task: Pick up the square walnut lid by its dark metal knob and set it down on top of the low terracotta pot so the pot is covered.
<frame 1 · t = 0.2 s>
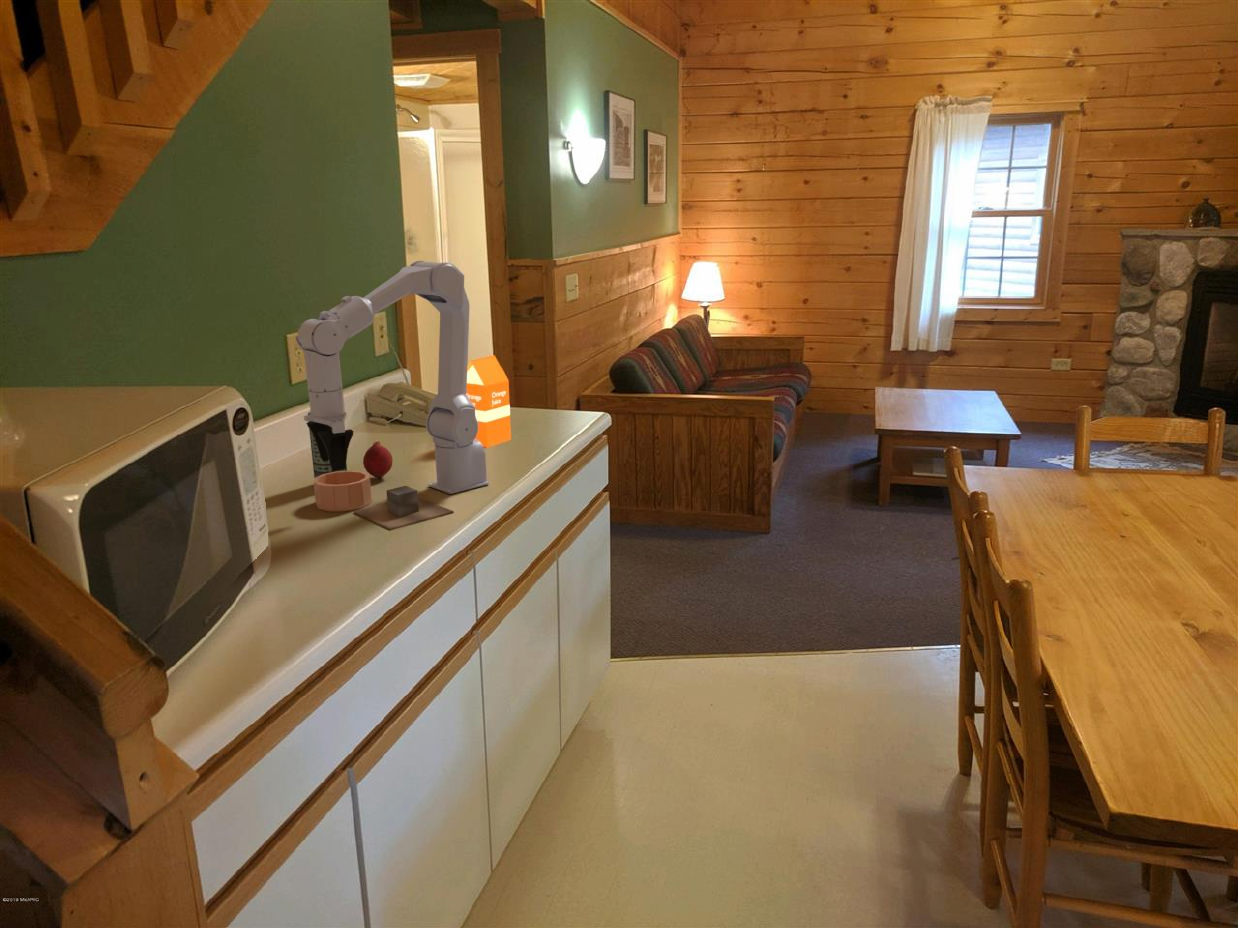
hand: (333, 464, 163), 10 cm above the table, tool pointing down, fingers open, 7 cm apart
onion: (379, 479, 190), on the table
pot: (344, 503, 174), on the table
orange juice: (487, 442, 219), on the table
can: (331, 485, 186), on the table
lid: (403, 516, 169), on the table
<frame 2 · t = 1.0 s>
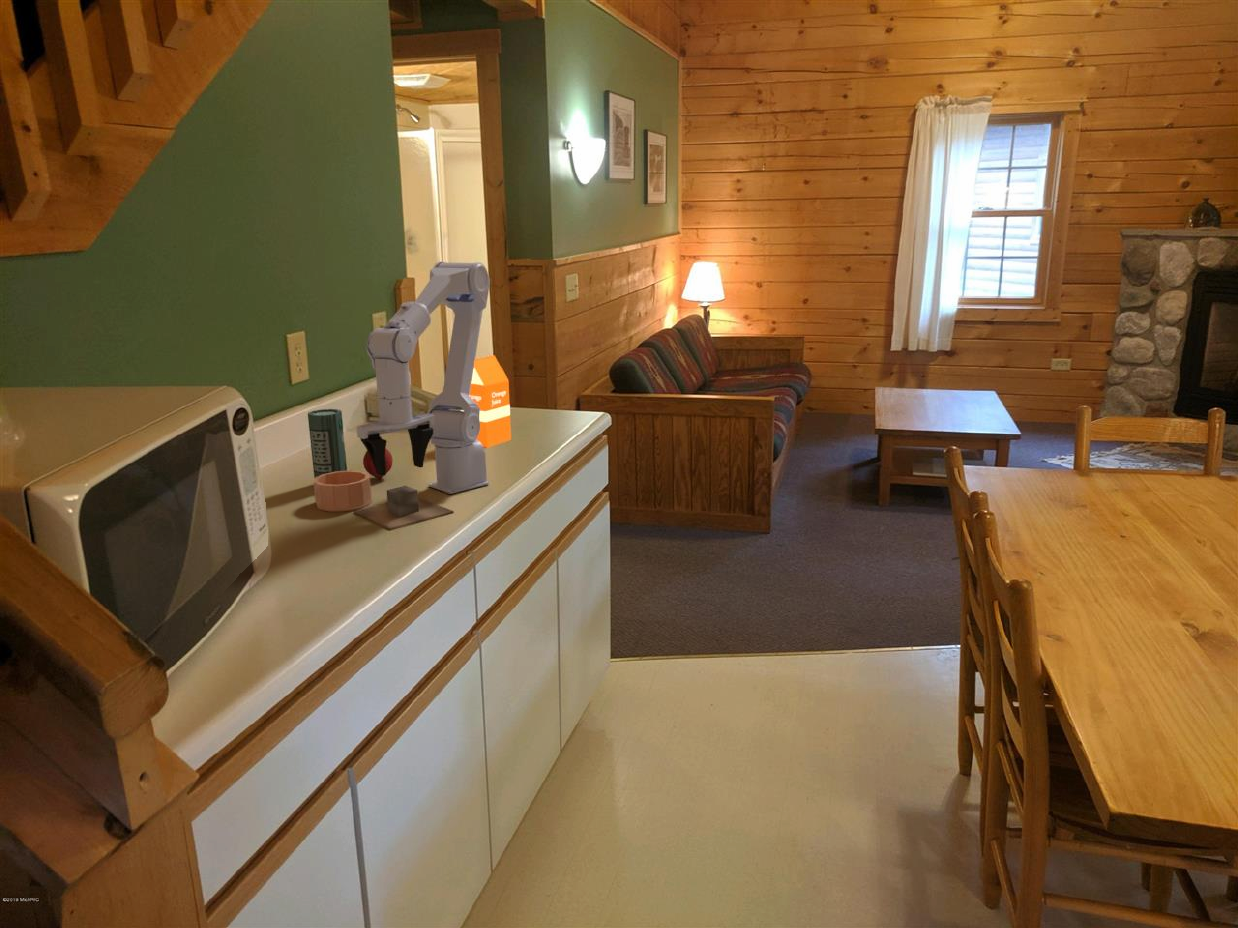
hand: (400, 470, 166), 8 cm above the table, tool pointing down, fingers open, 7 cm apart
nothing on the table moved.
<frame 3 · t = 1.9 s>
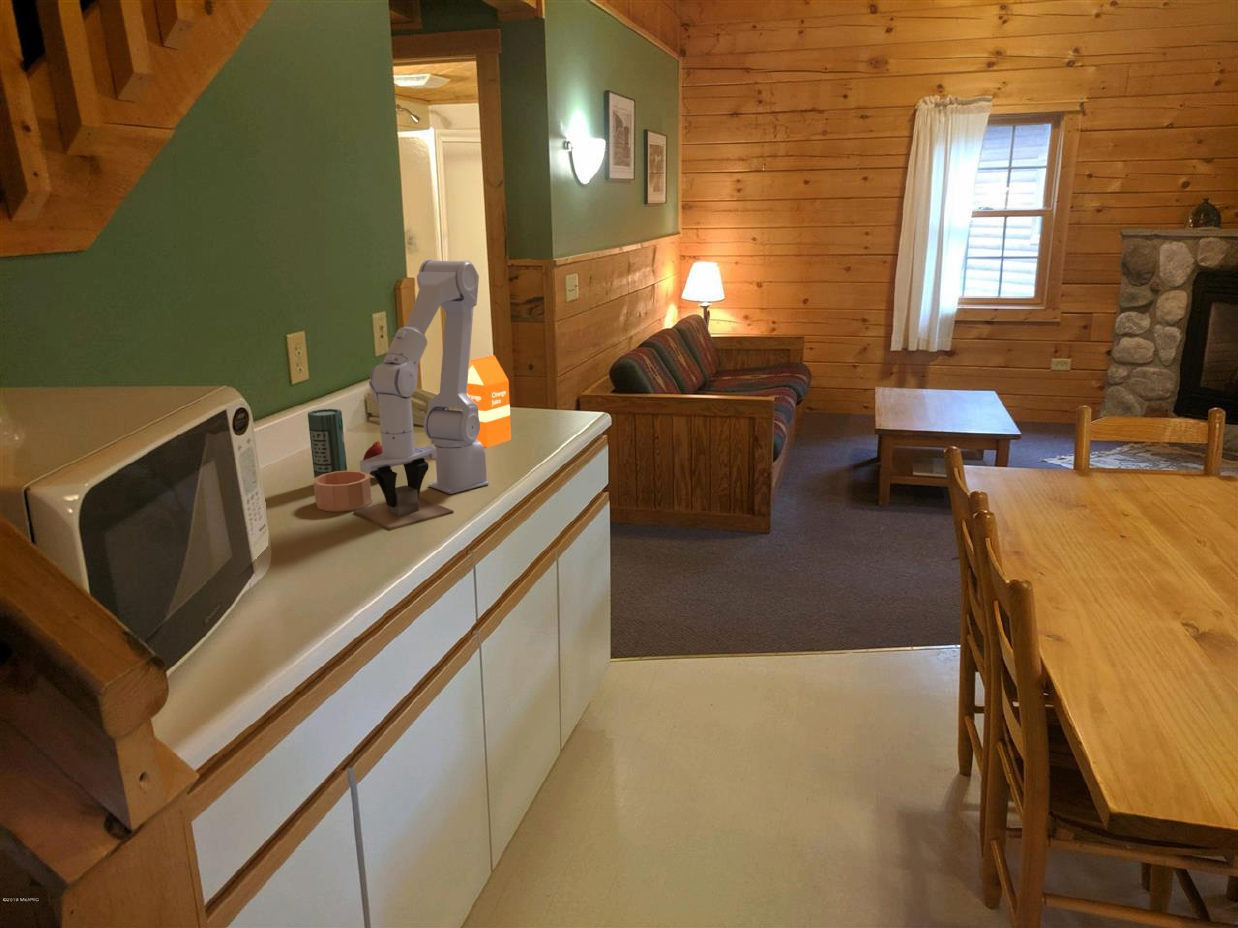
hand: (402, 502, 168), 2 cm above the table, tool pointing down, fingers closed on lid, 4 cm apart
lid: (403, 515, 169), on the table, touching gripper
everything else where it was.
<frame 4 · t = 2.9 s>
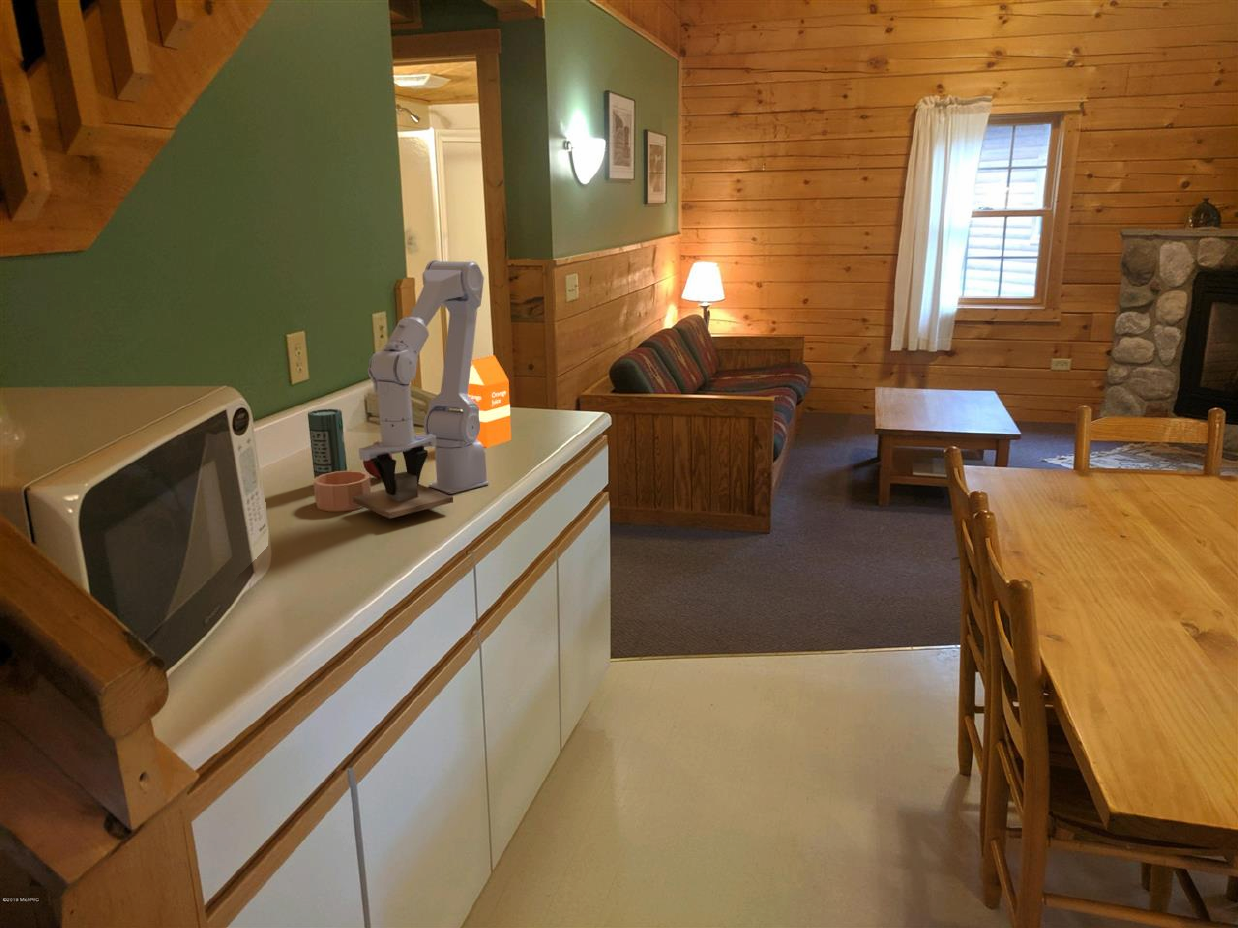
hand: (402, 490, 167), 4 cm above the table, tool pointing down, fingers closed on lid, 4 cm apart
lid: (403, 502, 168), point 2 cm above the table, touching gripper
everything else where it was.
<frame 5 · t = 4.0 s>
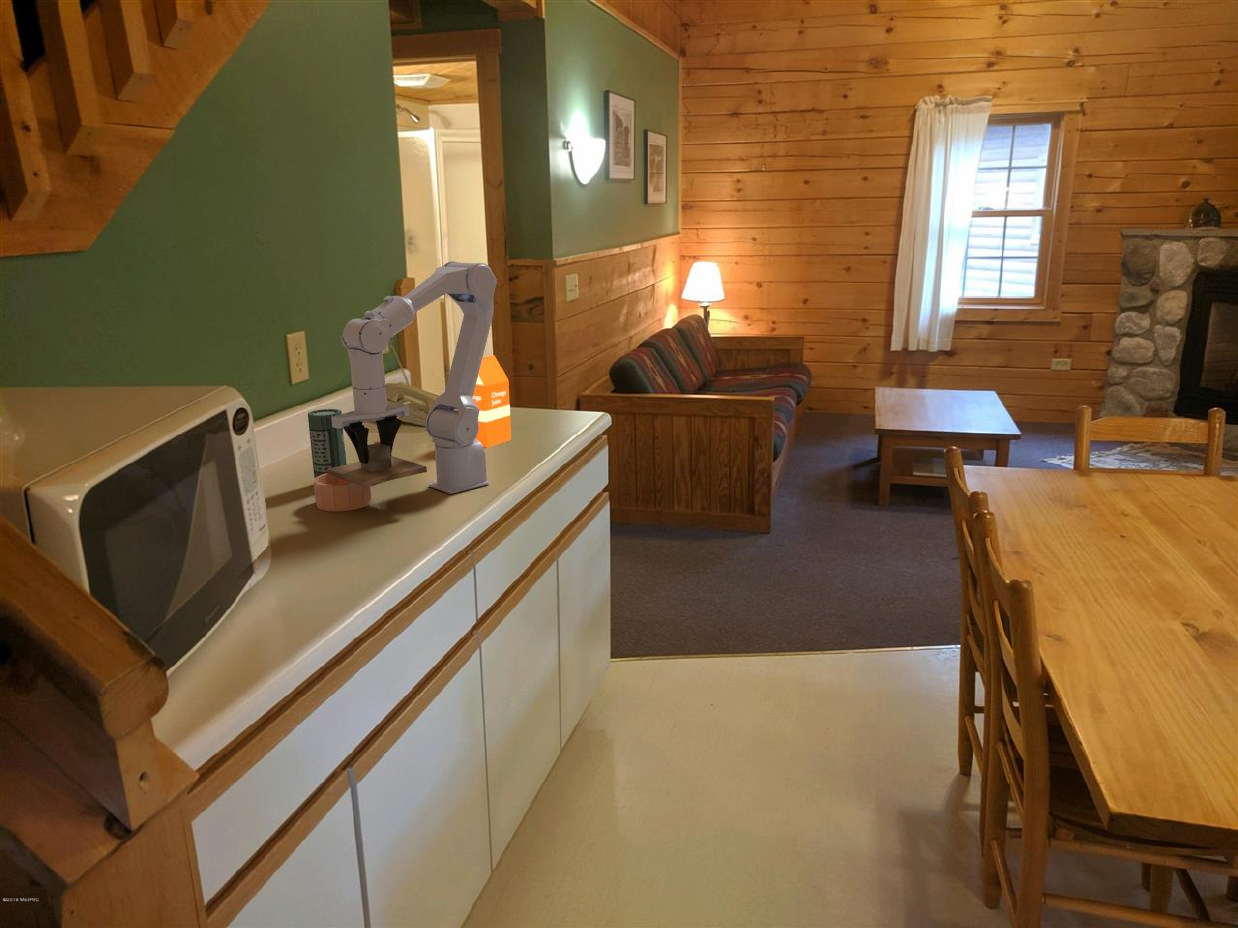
hand: (375, 460, 168), 9 cm above the table, tool pointing down, fingers closed on lid, 4 cm apart
lid: (377, 472, 169), point 7 cm above the table, touching gripper
everything else where it was.
when the fingers open (8 cm above the table, at t = 5.4 s): lid stays where it is, resting on pot.
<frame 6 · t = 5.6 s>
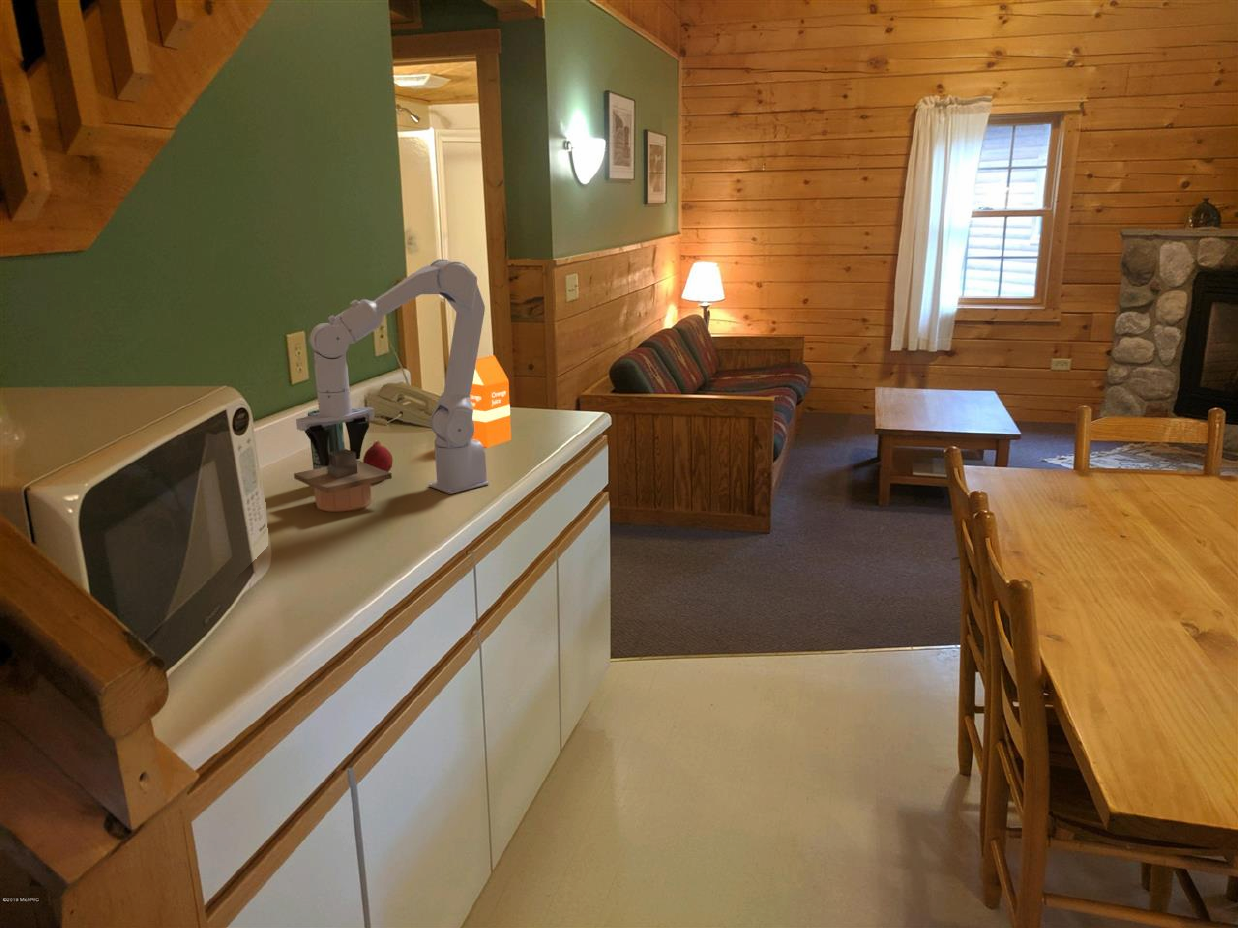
hand: (340, 461, 172), 8 cm above the table, tool pointing down, fingers open, 6 cm apart
lid: (343, 478, 173), point 5 cm above the table, touching pot
everything else where it was.
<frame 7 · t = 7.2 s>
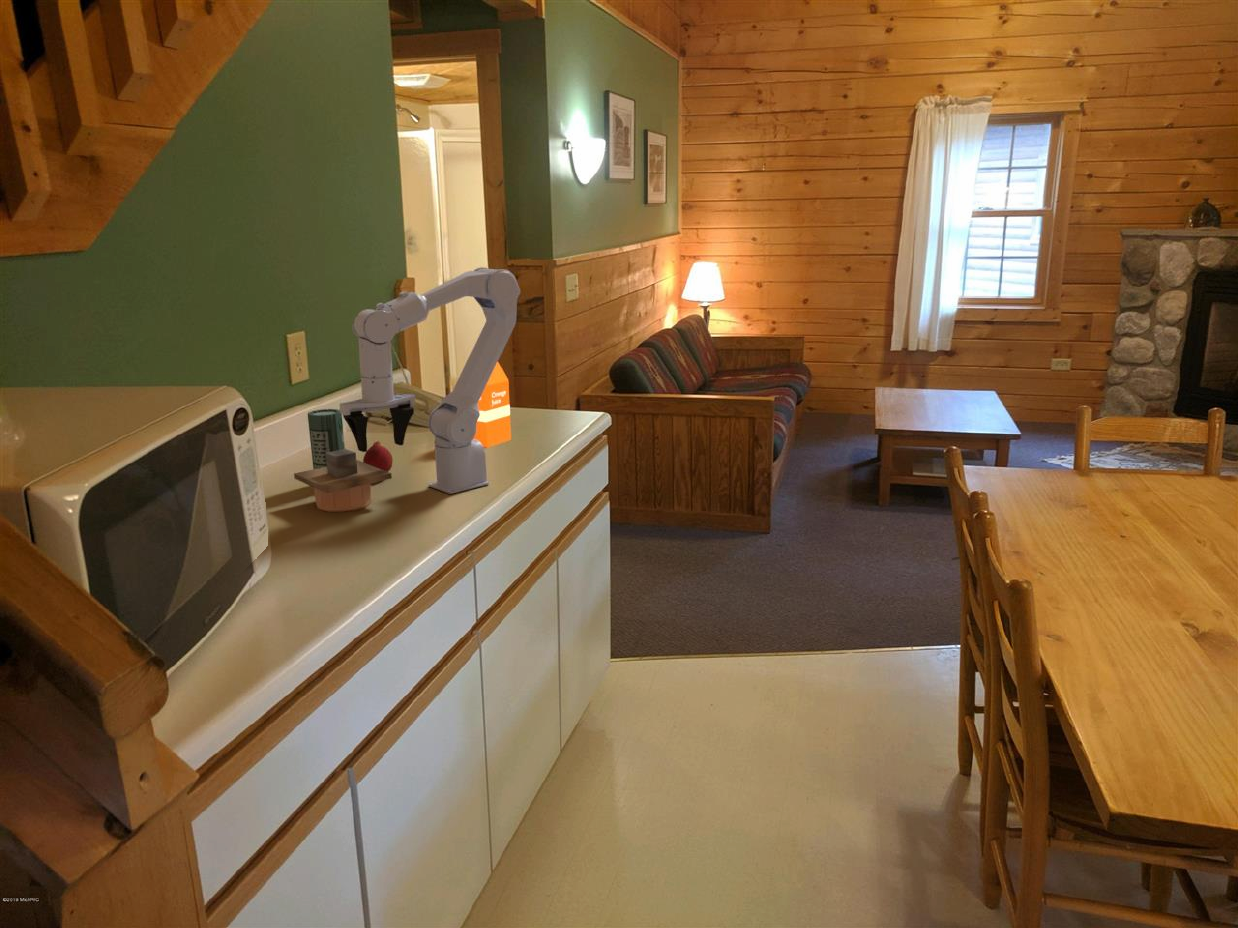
hand: (381, 447, 173), 10 cm above the table, tool pointing down, fingers open, 7 cm apart
nothing on the table moved.
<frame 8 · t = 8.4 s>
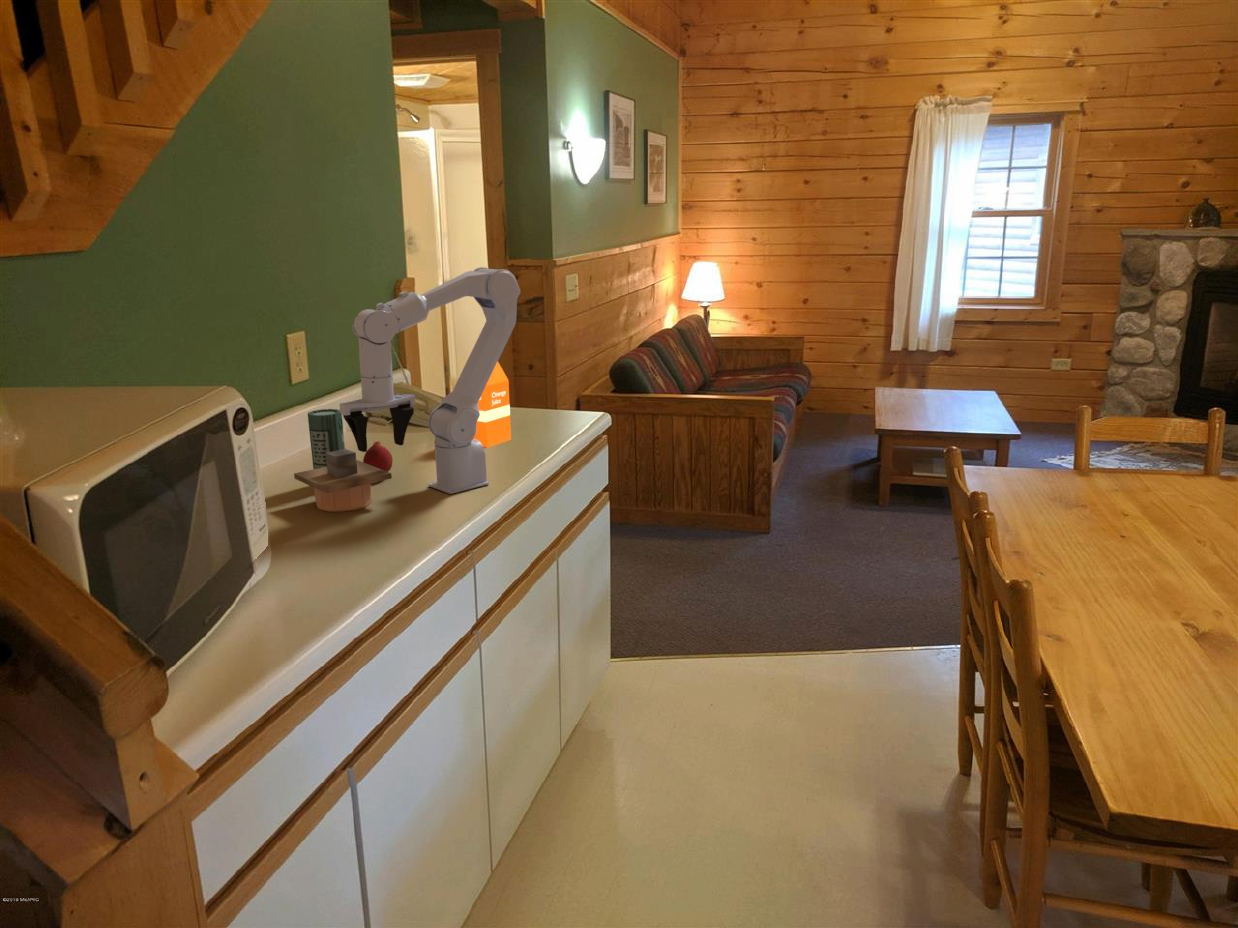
hand: (381, 447, 173), 10 cm above the table, tool pointing down, fingers open, 7 cm apart
nothing on the table moved.
at the end: lid 0.4 cm off-centre on the pot, point 5.0 cm above the pot's base; lid tilted 0°; the gripper is holding nothing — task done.
